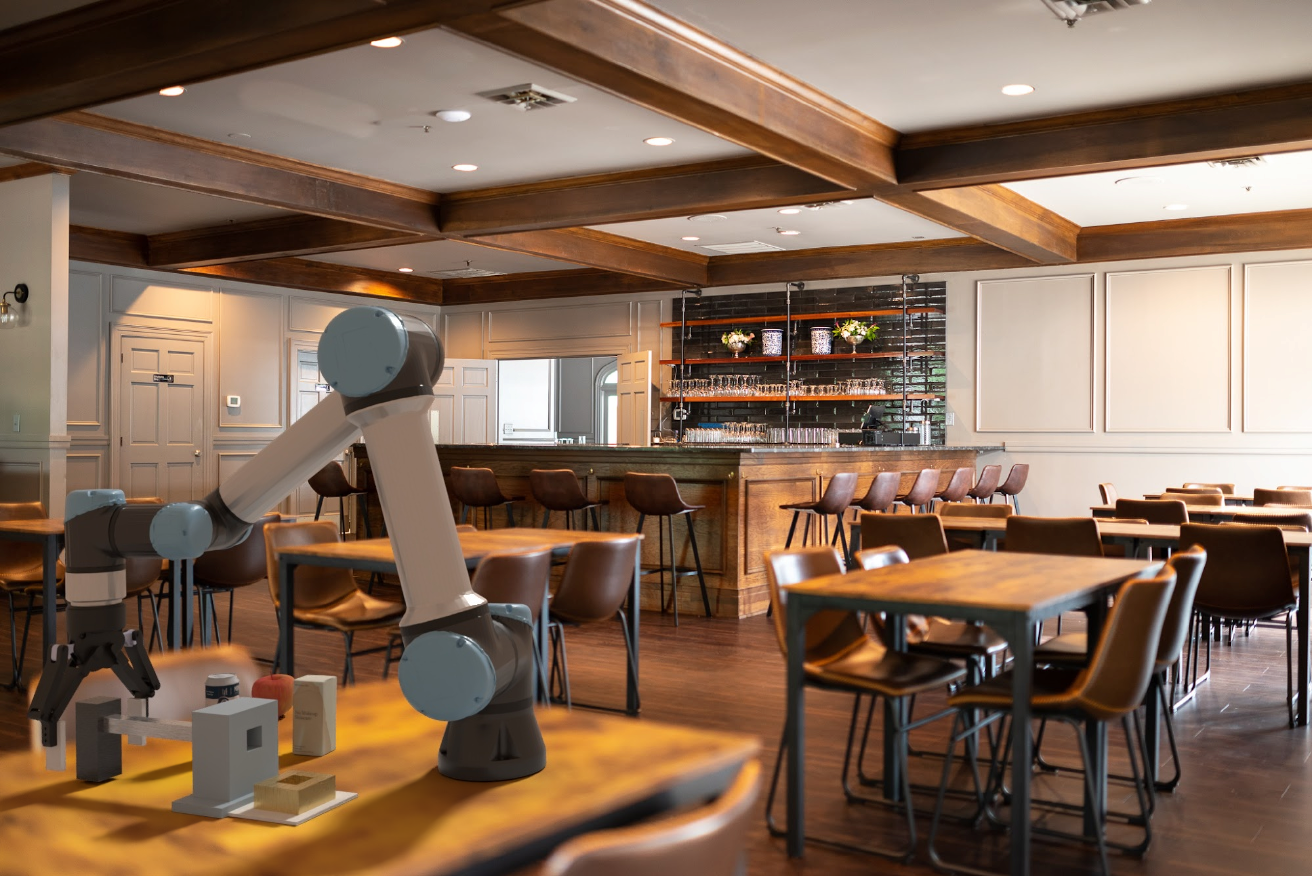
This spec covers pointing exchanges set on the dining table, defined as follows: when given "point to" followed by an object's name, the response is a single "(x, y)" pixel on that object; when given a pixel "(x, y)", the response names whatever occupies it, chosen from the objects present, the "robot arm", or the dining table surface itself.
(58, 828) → the dining table surface
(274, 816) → the mat
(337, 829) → the dining table surface
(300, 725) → the box
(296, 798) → the collar
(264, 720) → the bearing block
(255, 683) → the apple
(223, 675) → the beer can
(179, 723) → the shaft
